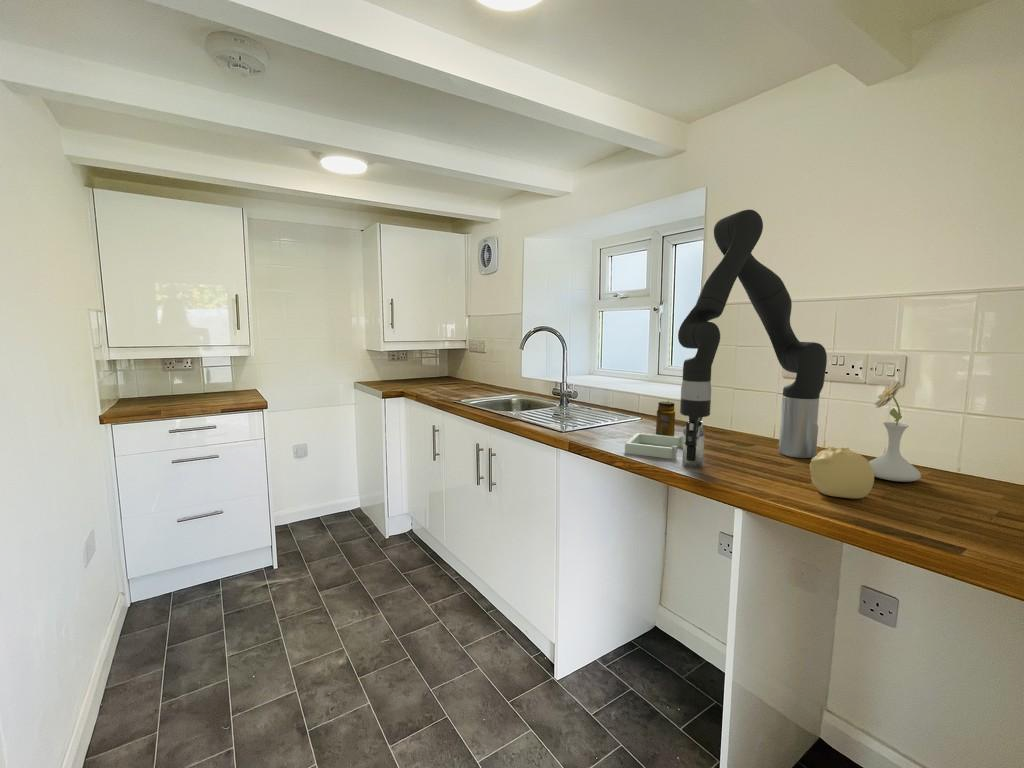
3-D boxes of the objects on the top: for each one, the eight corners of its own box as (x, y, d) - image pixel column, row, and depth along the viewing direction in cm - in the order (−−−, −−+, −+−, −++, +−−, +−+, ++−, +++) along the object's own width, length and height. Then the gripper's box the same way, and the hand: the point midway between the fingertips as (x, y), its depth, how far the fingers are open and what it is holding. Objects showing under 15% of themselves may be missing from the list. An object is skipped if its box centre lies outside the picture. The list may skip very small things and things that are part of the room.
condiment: (679, 437, 163) (680, 402, 162) (667, 441, 157) (668, 405, 156) (659, 433, 168) (661, 400, 167) (647, 437, 162) (648, 402, 161)
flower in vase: (868, 468, 126) (876, 375, 123) (924, 478, 118) (934, 379, 115) (855, 479, 118) (864, 379, 115) (915, 490, 109) (926, 383, 106)
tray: (683, 446, 149) (684, 435, 149) (675, 459, 135) (676, 446, 135) (636, 441, 156) (637, 431, 155) (624, 453, 142) (625, 441, 141)
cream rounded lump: (816, 482, 115) (820, 439, 114) (877, 495, 106) (882, 448, 105) (800, 493, 108) (803, 446, 106) (864, 508, 99) (869, 457, 97)
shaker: (704, 465, 130) (705, 428, 128) (702, 470, 125) (704, 432, 124) (683, 462, 132) (684, 426, 131) (680, 467, 127) (682, 430, 126)
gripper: (708, 402, 118) (705, 465, 120) (713, 395, 131) (710, 452, 133) (676, 399, 122) (674, 461, 124) (684, 393, 134) (681, 449, 136)
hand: (692, 456), depth 128 cm, fingers open, 8 cm apart
